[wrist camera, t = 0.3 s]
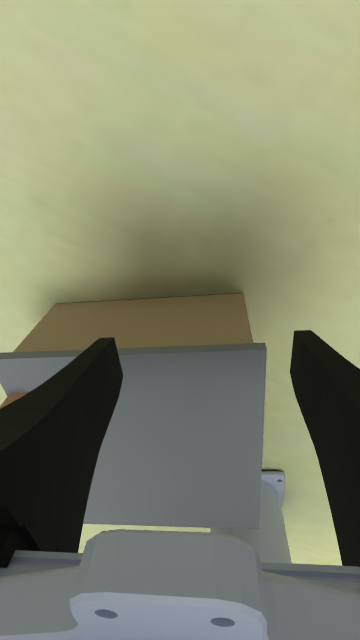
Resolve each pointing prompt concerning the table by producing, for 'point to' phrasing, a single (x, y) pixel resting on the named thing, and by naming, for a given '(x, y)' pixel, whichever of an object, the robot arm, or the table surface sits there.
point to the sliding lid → (171, 434)
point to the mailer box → (143, 323)
